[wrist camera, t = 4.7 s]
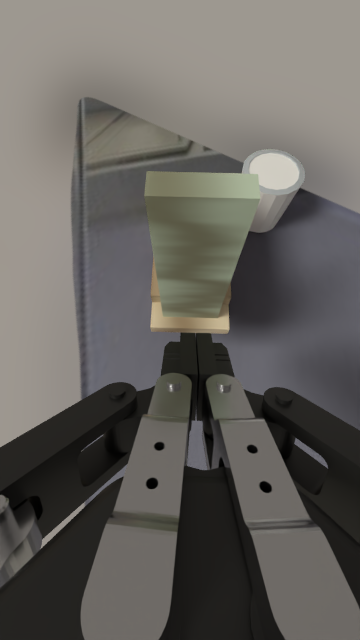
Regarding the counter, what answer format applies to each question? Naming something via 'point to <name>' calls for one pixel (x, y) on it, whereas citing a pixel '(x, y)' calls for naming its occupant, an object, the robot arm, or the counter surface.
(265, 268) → the counter surface
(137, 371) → the counter surface
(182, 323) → the ramp
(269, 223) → the white cylinder
